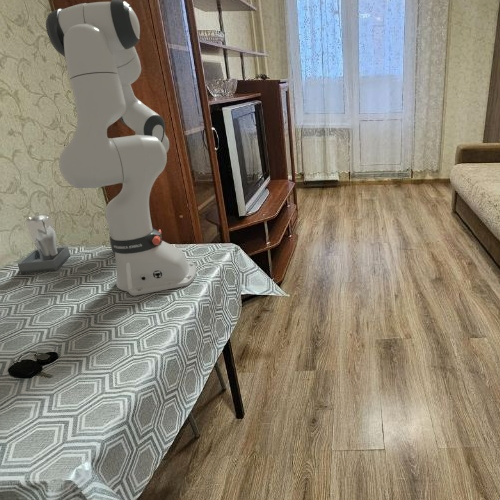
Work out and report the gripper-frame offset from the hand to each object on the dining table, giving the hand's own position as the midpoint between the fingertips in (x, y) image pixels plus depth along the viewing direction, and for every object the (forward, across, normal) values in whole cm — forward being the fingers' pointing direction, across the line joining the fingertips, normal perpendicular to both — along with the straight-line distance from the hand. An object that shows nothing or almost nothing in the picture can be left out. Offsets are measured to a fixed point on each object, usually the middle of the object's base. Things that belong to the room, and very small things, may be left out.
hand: (89, 158), depth 122 cm
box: (+20, -5, +31) cm, 37 cm away
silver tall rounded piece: (+19, -4, +30) cm, 36 cm away
